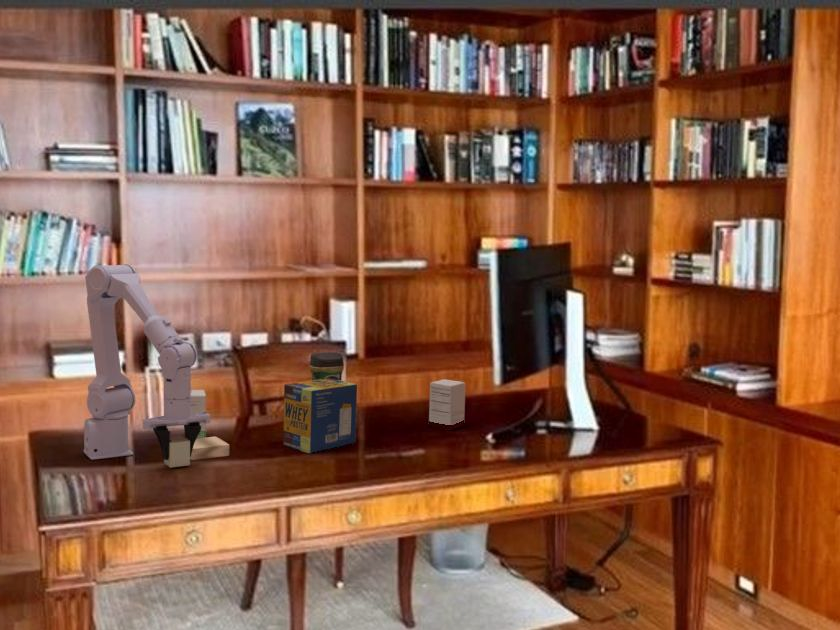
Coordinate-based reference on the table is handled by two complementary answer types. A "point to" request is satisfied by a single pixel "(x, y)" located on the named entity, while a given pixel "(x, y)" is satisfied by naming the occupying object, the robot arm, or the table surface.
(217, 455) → the maple block
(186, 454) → the sage box
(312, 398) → the protein box
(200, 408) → the ink box
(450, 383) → the supplement box
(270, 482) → the table surface
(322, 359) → the coffee jar
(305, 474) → the table surface
